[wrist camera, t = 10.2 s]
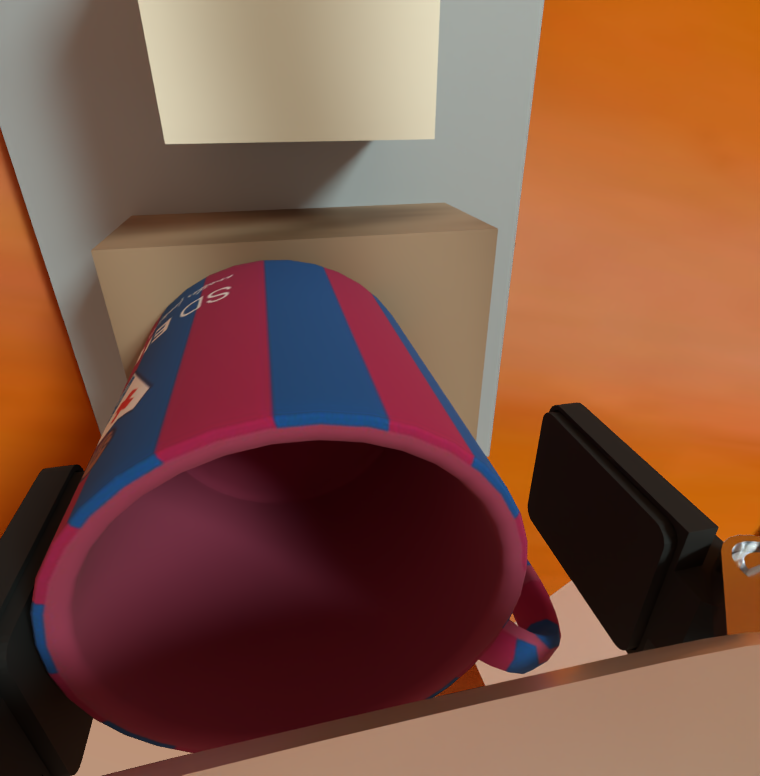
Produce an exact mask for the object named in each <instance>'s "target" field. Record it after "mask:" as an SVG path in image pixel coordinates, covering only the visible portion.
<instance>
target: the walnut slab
mask: <svg viewBox="0 0 760 776" xmlns="http://www.w3.org/2000/svg"><path fill="white" fill-rule="evenodd" d="M497 236H498V228H496V227H494V226H491V225H489V224H487V223H485V222H483V221H481V220H479V219H477V218H475V217H473V216H471V215H469V214H467V213H465V212H463V211H461V210H459V209H457V208H455V207H453V206H451V205H449V204H447V203H445V202H444V203H421V204H397V205H373V206H350V207H326V208H302V209H279V210H255V211H231V212H208V213H184V214H160V215H137V216H130V217H129V218H128V219H127V220H126V221H125V222H123V223H122V224H121V225H120V226H119V227H118V228H116V229H115V230H114V231H113V232H112V233H111V234H109V235H108V236H107V237H106V238H105V239H104V240H102V241H101V242H100V243H99V244H98V245H97V246H95V247H94V248H93V249H92V250H91V253H92V256H93V260H94V264H95V267H96V271H97V274H98V278H99V281H100V285H101V289H102V292H103V296H104V299H105V303H106V307H107V310H108V314H109V317H110V321H111V324H112V328H113V332H114V335H115V339H116V342H117V346H118V349H119V353H120V357H121V360H122V364H123V367H124V371H125V374H126V378H127V381H128V379H129V377H130V375H131V373H132V371H133V368H134V366H135V364H136V362H137V360H138V358H139V356H140V354H141V352H142V349H143V347H144V345H145V343H146V341H147V339H148V337H149V335H150V332H151V330H152V328H153V326H154V325H155V323H156V322H157V321H158V319H159V318H160V317H161V315H162V314H163V312H164V311H165V310H166V308H167V307H168V306H169V305H170V304H171V303H172V302H173V301H174V300H175V299H176V298H178V297H179V296H180V295H181V294H182V293H183V292H184V291H185V290H186V289H188V288H189V287H191V286H193V285H194V284H196V283H198V282H199V281H201V280H202V279H204V278H206V277H207V276H209V275H211V274H214V273H216V272H219V271H222V270H224V269H227V268H229V267H232V266H235V265H240V264H245V263H250V262H255V261H260V260H292V261H299V262H305V263H312V264H316V265H319V266H322V267H325V268H328V269H331V270H334V271H337V272H339V273H341V274H343V275H345V276H346V277H348V278H350V279H352V280H354V281H356V282H357V283H359V284H361V285H362V286H363V287H364V288H366V289H367V290H368V291H369V292H370V293H372V294H373V295H374V296H375V297H377V298H378V299H379V300H380V302H381V303H382V304H383V305H384V306H385V308H386V309H387V310H388V311H389V312H390V313H391V315H392V316H393V317H394V319H395V320H396V322H397V323H398V325H399V326H400V328H401V329H402V331H403V332H404V334H405V335H406V337H407V338H408V340H409V341H410V343H411V344H412V346H413V347H414V349H415V350H416V352H417V353H418V355H419V356H420V358H421V359H422V361H423V362H424V364H425V365H426V367H427V368H428V370H429V371H430V373H431V374H432V376H433V377H434V379H435V380H436V382H437V383H438V385H439V386H440V388H441V389H442V391H443V392H444V394H445V395H446V397H447V398H448V400H449V401H450V403H451V404H452V406H453V407H454V409H455V410H456V412H457V413H458V415H459V416H460V418H461V419H462V421H463V422H464V424H465V425H466V427H467V428H468V430H469V432H470V433H471V435H472V436H473V438H474V439H475V441H476V438H477V428H478V418H479V409H480V399H481V390H482V380H483V370H484V361H485V351H486V341H487V332H488V322H489V313H490V303H491V293H492V284H493V274H494V264H495V255H496V245H497Z"/></svg>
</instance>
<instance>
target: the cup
mask: <svg viewBox="0 0 760 776" xmlns="http://www.w3.org/2000/svg"><path fill="white" fill-rule="evenodd" d="M512 613H513V615H514V618H515V620H516V622H517V625H518V626H517V625H516V624H515V623H513V622H512V621H511V620H509V619H510V617H511V614H512ZM30 616H31V623H32V630H33V637H34V644H35V647H36V649H37V651H38V653H39V656H40V658H41V660H42V662H43V664H44V667H45V669H46V671H47V673H48V675H49V676H50V677H51V678H52V679H53V681H54V682H55V683H56V684H57V686H58V687H59V688H60V689H61V691H62V692H63V693H64V694H65V695H66V697H67V698H68V699H69V700H71V701H72V702H73V703H75V704H76V705H77V706H78V707H80V708H81V709H82V710H84V711H85V712H86V713H87V714H89V715H90V716H91V717H92V718H94V719H96V720H97V721H99V722H102V723H103V724H105V725H107V726H109V727H111V728H113V729H115V730H117V731H118V732H120V733H123V734H124V735H127V736H130V737H133V738H135V739H138V740H141V741H144V742H148V743H150V744H153V745H156V746H160V747H165V748H170V749H175V750H181V751H185V752H190V753H196V752H200V751H205V750H209V749H213V748H218V747H222V746H226V745H230V744H235V743H239V742H243V741H248V740H252V739H256V738H260V737H265V736H269V735H273V734H278V733H282V732H286V731H290V730H295V729H299V728H303V727H308V726H312V725H316V724H320V723H325V722H329V721H333V720H338V719H342V718H346V717H351V716H355V715H360V714H364V713H368V712H373V711H377V710H381V709H386V708H390V707H394V706H399V705H403V704H408V703H412V702H416V701H421V700H425V699H430V698H433V697H435V696H436V695H438V694H439V693H440V692H442V691H443V690H445V689H446V688H448V687H449V686H450V685H451V684H453V683H454V682H455V681H456V680H457V679H458V678H460V677H461V676H462V675H463V674H464V673H466V672H467V671H468V670H469V669H470V668H471V667H472V666H473V665H474V664H475V663H476V662H477V661H478V660H480V661H482V662H484V663H486V664H488V665H490V666H492V667H495V668H498V669H500V670H503V671H506V672H509V673H518V674H525V673H527V672H529V671H532V670H533V669H535V668H537V667H538V666H540V665H542V664H543V663H545V662H547V661H548V660H549V659H550V657H551V656H552V655H553V653H554V652H555V651H556V649H557V648H558V647H559V644H560V639H561V632H560V627H559V622H558V618H557V615H556V612H555V609H554V607H553V604H552V602H551V600H550V597H549V595H548V593H547V591H546V590H545V588H544V586H543V584H542V582H541V580H540V579H539V577H538V575H537V574H536V572H535V571H534V569H533V567H532V566H531V564H530V563H529V561H528V560H527V538H526V534H525V529H524V525H523V521H522V517H521V513H520V511H519V510H518V508H517V506H516V504H515V502H514V500H513V498H512V496H511V494H510V493H509V491H508V489H507V487H506V486H505V484H504V483H503V481H502V480H501V478H500V477H499V475H498V474H497V472H496V471H495V469H494V468H493V466H492V465H491V463H490V462H489V460H488V459H487V457H486V456H485V454H484V453H483V451H482V450H481V448H480V447H479V445H478V444H477V442H476V441H475V439H474V438H473V436H472V435H471V433H470V432H469V430H468V428H467V427H466V425H465V424H464V422H463V421H462V419H461V418H460V416H459V415H458V413H457V412H456V410H455V409H454V407H453V406H452V404H451V403H450V401H449V400H448V398H447V397H446V395H445V394H444V392H443V391H442V389H441V388H440V386H439V385H438V383H437V382H436V380H435V379H434V377H433V376H432V374H431V373H430V371H429V370H428V368H427V367H426V365H425V364H424V362H423V361H422V359H421V358H420V356H419V355H418V353H417V352H416V350H415V349H414V347H413V346H412V344H411V343H410V341H409V340H408V338H407V337H406V335H405V334H404V332H403V331H402V329H401V328H400V326H399V325H398V323H397V322H396V320H395V319H394V317H393V316H392V315H391V313H390V312H389V311H388V310H387V309H386V308H385V306H384V305H383V304H382V303H381V302H380V300H379V299H378V298H377V297H375V296H374V295H373V294H372V293H370V292H369V291H368V290H367V289H366V288H364V287H363V286H362V285H361V284H359V283H357V282H356V281H354V280H352V279H350V278H348V277H346V276H345V275H343V274H341V273H339V272H337V271H334V270H331V269H328V268H325V267H322V266H319V265H316V264H312V263H305V262H299V261H292V260H260V261H255V262H250V263H245V264H240V265H235V266H232V267H229V268H227V269H224V270H222V271H219V272H216V273H214V274H211V275H209V276H207V277H206V278H204V279H202V280H201V281H199V282H198V283H196V284H194V285H193V286H191V287H189V288H188V289H186V290H185V291H184V292H183V293H182V294H181V295H180V296H179V297H178V298H176V299H175V300H174V301H173V302H172V303H171V304H170V305H169V306H168V307H167V308H166V310H165V311H164V312H163V314H162V315H161V317H160V318H159V319H158V321H157V322H156V323H155V325H154V326H153V328H152V330H151V332H150V335H149V337H148V339H147V341H146V343H145V345H144V347H143V349H142V352H141V354H140V356H139V358H138V360H137V362H136V364H135V366H134V368H133V371H132V373H131V375H130V377H129V379H128V381H127V383H126V385H125V388H124V390H123V392H122V394H121V396H120V398H119V400H118V402H117V404H116V407H115V409H114V411H113V413H112V415H111V417H110V419H109V421H108V424H107V426H106V428H105V430H104V432H103V434H102V436H101V438H100V440H99V443H98V445H97V447H96V449H95V451H94V453H93V455H92V457H91V460H90V462H89V464H88V466H87V468H86V470H85V472H84V474H83V476H82V479H81V481H80V483H79V485H78V487H77V489H76V491H75V493H74V496H73V498H72V500H71V502H70V504H69V506H68V508H67V510H66V512H65V515H64V517H63V519H62V521H61V523H60V525H59V527H58V529H57V532H56V534H55V536H54V538H53V540H52V542H51V544H50V547H49V549H48V551H47V553H46V555H45V558H44V560H43V562H42V564H41V567H40V569H39V571H38V573H37V575H36V578H35V584H34V590H33V597H32V603H31V610H30Z"/></svg>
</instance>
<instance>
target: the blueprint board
mask: <svg viewBox="0 0 760 776" xmlns="http://www.w3.org/2000/svg"><path fill="white" fill-rule="evenodd" d="M543 7H544V0H440V20H439V45H438V69H437V93H436V117H435V139H419V140H364V141H310V142H255V143H201V144H165V141H164V135H163V130H162V125H161V120H160V114H159V109H158V104H157V99H156V93H155V88H154V83H153V78H152V72H151V67H150V62H149V57H148V51H147V46H146V41H145V35H144V30H143V25H142V20H141V14H140V9H139V4H138V0H0V127H1V130H2V133H3V137H4V140H5V143H6V146H7V149H8V152H9V155H10V158H11V161H12V164H13V167H14V170H15V173H16V176H17V179H18V182H19V185H20V188H21V192H22V195H23V198H24V201H25V204H26V207H27V210H28V213H29V216H30V219H31V222H32V225H33V228H34V231H35V234H36V237H37V240H38V244H39V247H40V250H41V253H42V256H43V259H44V262H45V265H46V268H47V271H48V274H49V277H50V280H51V283H52V286H53V289H54V292H55V295H56V299H57V302H58V305H59V308H60V311H61V314H62V317H63V320H64V323H65V326H66V329H67V332H68V335H69V338H70V341H71V344H72V347H73V350H74V354H75V357H76V360H77V363H78V366H79V369H80V372H81V375H82V378H83V381H84V384H85V387H86V390H87V393H88V396H89V399H90V402H91V406H92V409H93V412H94V415H95V418H96V421H97V424H98V427H99V430H100V433H101V436H102V434H103V432H104V430H105V428H106V426H107V424H108V421H109V419H110V417H111V415H112V413H113V411H114V409H115V407H116V404H117V402H118V400H119V398H120V396H121V394H122V392H123V390H124V388H125V385H126V383H127V378H126V374H125V371H124V367H123V364H122V360H121V357H120V353H119V349H118V346H117V342H116V339H115V335H114V332H113V328H112V324H111V321H110V317H109V314H108V310H107V307H106V303H105V299H104V296H103V292H102V289H101V285H100V281H99V278H98V274H97V271H96V267H95V264H94V260H93V256H92V253H91V250H92V249H93V248H94V247H95V246H97V245H98V244H99V243H100V242H101V241H102V240H104V239H105V238H106V237H107V236H108V235H109V234H111V233H112V232H113V231H114V230H115V229H116V228H118V227H119V226H120V225H121V224H122V223H123V222H125V221H126V220H127V219H128V218H129V217H130V216H137V215H160V214H184V213H208V212H231V211H255V210H279V209H302V208H326V207H350V206H373V205H397V204H421V203H444V202H445V203H447V204H449V205H451V206H453V207H455V208H457V209H459V210H461V211H463V212H465V213H467V214H469V215H471V216H473V217H475V218H477V219H479V220H481V221H483V222H485V223H487V224H489V225H491V226H494V227H496V228H498V236H497V245H496V255H495V264H494V274H493V284H492V293H491V303H490V313H489V322H488V332H487V341H486V351H485V361H484V370H483V380H482V390H481V399H480V409H479V418H478V428H477V438H476V442H477V444H478V445H479V447H480V448H481V450H482V451H483V453H484V454H485V456H486V457H487V456H489V453H490V445H491V436H492V428H493V420H494V412H495V403H496V395H497V387H498V378H499V370H500V362H501V354H502V345H503V337H504V329H505V321H506V312H507V304H508V296H509V288H510V279H511V271H512V263H513V254H514V246H515V238H516V230H517V221H518V213H519V205H520V197H521V188H522V180H523V172H524V164H525V155H526V147H527V139H528V130H529V122H530V114H531V106H532V97H533V89H534V81H535V73H536V64H537V56H538V48H539V40H540V31H541V23H542V15H543Z"/></svg>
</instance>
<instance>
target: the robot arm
mask: <svg viewBox="0 0 760 776" xmlns="http://www.w3.org/2000/svg"><path fill="white" fill-rule="evenodd" d="M84 472H85V471H83V469H82V468H81V466H80V465H69V466H61V467H53V468H45V469H43V470H42V471H41V472H40V473H39V475H38V477H37V478H36V480H35V482H34V483H33V485H32V487H31V488H30V490H29V492H28V493H27V495H26V497H25V498H24V500H23V502H22V504H21V505H20V507H19V509H18V510H17V512H16V514H15V515H14V517H13V519H12V520H11V522H10V524H9V525H8V527H7V529H6V531H5V532H4V534H3V536H2V537H1V539H0V776H72V775H75V774H76V772H77V771H78V769H79V767H80V764H81V761H82V758H83V754H84V750H85V746H86V743H87V739H88V735H89V731H90V728H91V724H92V720H93V718H92V717H91V716H90V715H89V714H87V713H86V712H85V711H84V710H82V709H81V708H80V707H78V706H77V705H76V704H75V703H73V702H72V701H71V700H69V699H68V698H67V697H66V695H65V694H64V693H63V692H62V691H61V689H60V688H59V687H58V686H57V684H56V683H55V682H54V681H53V679H52V678H51V677H50V676H49V675H48V673H47V671H46V669H45V667H44V664H43V662H42V660H41V658H40V656H39V653H38V651H37V649H36V647H35V644H34V637H33V630H32V623H31V616H30V610H31V603H32V597H33V590H34V584H35V578H36V575H37V573H38V571H39V569H40V567H41V564H42V562H43V560H44V558H45V555H46V553H47V551H48V549H49V547H50V544H51V542H52V540H53V538H54V536H55V534H56V532H57V529H58V527H59V525H60V523H61V521H62V519H63V517H64V515H65V512H66V510H67V508H68V506H69V504H70V502H71V500H72V498H73V496H74V493H75V491H76V489H77V487H78V485H79V483H80V481H81V479H82V476H83V474H84ZM528 513H529V516H530V519H531V521H532V522H533V524H534V525H535V527H536V528H537V530H538V531H539V533H540V534H541V536H542V537H543V539H544V540H545V542H546V543H547V545H548V546H549V548H550V549H551V550H552V552H553V553H554V555H555V556H556V558H557V559H558V561H559V562H560V564H561V565H562V567H563V568H564V570H565V571H566V573H567V574H568V576H569V577H570V579H571V580H572V582H573V583H574V585H575V586H576V588H577V589H578V591H579V592H580V594H581V595H582V597H583V598H584V600H585V601H586V603H587V604H588V606H589V607H590V609H591V610H592V611H593V613H594V614H595V616H596V617H597V619H598V620H599V622H600V623H601V625H602V626H603V628H604V629H605V631H606V632H607V634H608V635H609V637H610V638H611V640H612V641H613V643H614V644H615V645H616V646H617V647H618V648H619V649H620V650H623V651H624V650H626V652H627V653H628V654H626V655H622V656H617V657H613V658H608V659H604V660H599V661H595V662H590V663H586V664H581V665H577V666H572V667H568V668H563V669H559V670H554V671H550V672H545V673H541V674H536V675H532V676H527V677H523V678H518V679H514V680H509V681H504V682H500V683H496V684H491V685H487V686H482V687H478V688H474V689H469V690H465V691H460V692H456V693H452V694H447V695H443V696H438V697H434V698H430V699H425V700H421V701H416V702H412V703H408V704H403V705H399V706H394V707H390V708H386V709H381V710H377V711H373V712H368V713H364V714H360V715H355V716H351V717H346V718H342V719H338V720H333V721H329V722H325V723H320V724H316V725H312V726H308V727H303V728H299V729H295V730H290V731H286V732H282V733H278V734H273V735H269V736H265V737H260V738H256V739H252V740H248V741H243V742H239V743H235V744H230V745H226V746H222V747H218V748H213V749H209V750H205V751H200V752H196V753H192V754H188V755H184V756H180V757H175V758H171V759H167V760H163V761H159V762H155V763H151V764H147V765H143V766H139V767H135V768H131V769H127V770H123V771H119V772H115V773H111V774H107V775H103V776H760V537H758V536H753V535H737V536H733V537H730V538H728V539H727V540H726V541H725V542H723V541H722V540H721V539H719V538H718V537H717V536H716V535H715V534H716V532H717V530H718V526H717V525H716V524H714V523H713V522H712V521H711V520H710V519H709V518H708V517H707V516H706V515H704V514H703V513H702V512H701V511H700V510H699V509H698V508H697V507H696V506H695V505H693V504H692V503H691V502H690V501H689V500H688V499H687V498H686V497H685V496H683V495H682V494H681V493H680V492H679V491H678V490H677V489H676V488H675V487H673V486H672V485H671V484H670V483H669V482H668V481H667V480H666V479H665V478H663V477H662V476H661V475H660V474H659V473H658V472H657V471H656V470H655V469H653V468H652V467H651V466H650V465H649V464H648V463H647V462H646V461H645V460H643V459H642V458H641V457H640V456H639V455H638V454H637V453H636V452H635V451H633V450H632V449H631V448H630V447H629V446H628V445H627V444H626V443H625V442H623V441H622V440H621V439H620V438H619V437H618V436H617V435H616V434H615V433H614V432H612V431H611V430H610V429H609V428H608V427H607V426H606V425H605V424H604V423H602V422H601V421H600V420H599V419H598V418H597V417H596V416H595V415H594V414H592V413H591V412H590V411H589V410H588V409H587V408H586V407H585V406H584V405H582V404H581V403H569V404H561V405H554V406H553V407H552V408H551V409H550V411H549V413H546V414H545V415H544V417H543V421H542V426H541V432H540V438H539V443H538V449H537V455H536V460H535V466H534V472H533V477H532V483H531V489H530V494H529V500H528Z"/></svg>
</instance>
